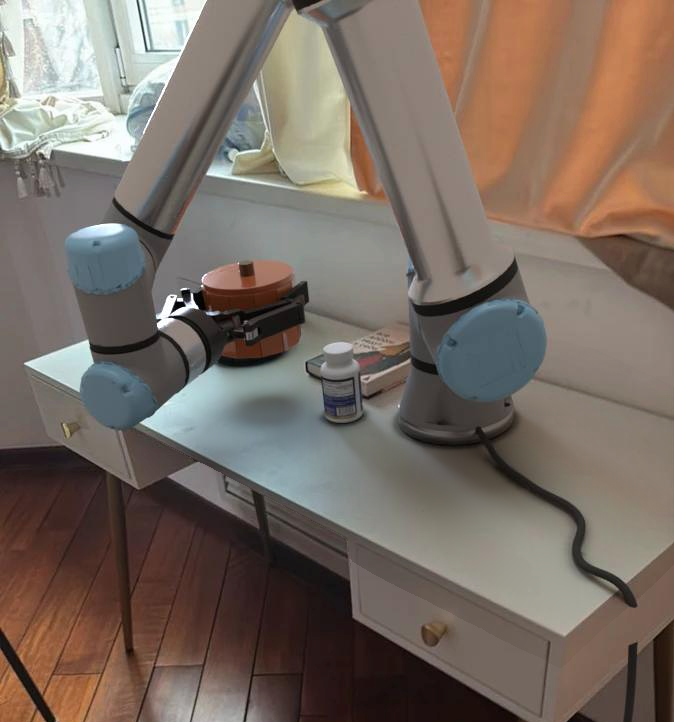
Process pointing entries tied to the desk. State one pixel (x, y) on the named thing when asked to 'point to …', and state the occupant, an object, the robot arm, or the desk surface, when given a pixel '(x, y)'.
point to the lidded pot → (251, 300)
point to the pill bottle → (341, 383)
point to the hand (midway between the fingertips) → (262, 289)
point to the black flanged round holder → (246, 360)
